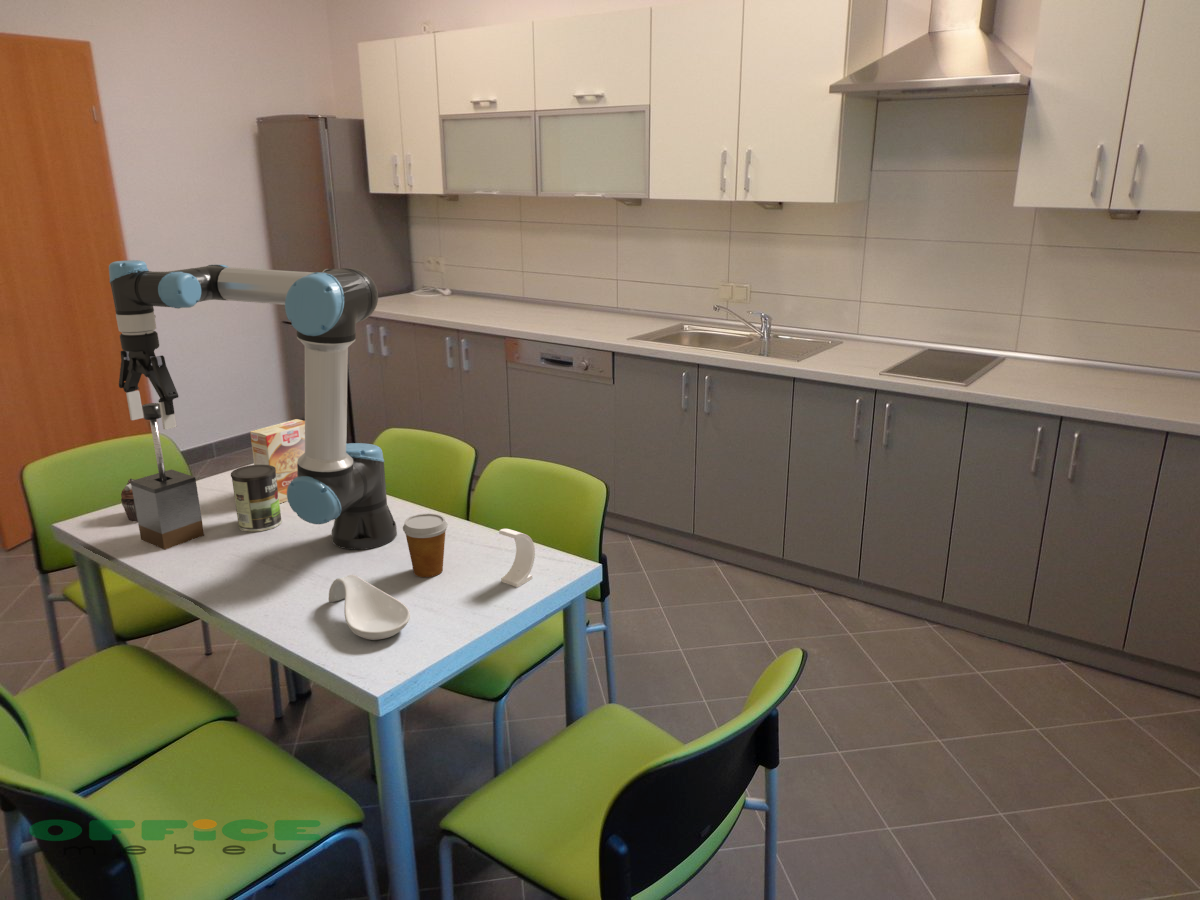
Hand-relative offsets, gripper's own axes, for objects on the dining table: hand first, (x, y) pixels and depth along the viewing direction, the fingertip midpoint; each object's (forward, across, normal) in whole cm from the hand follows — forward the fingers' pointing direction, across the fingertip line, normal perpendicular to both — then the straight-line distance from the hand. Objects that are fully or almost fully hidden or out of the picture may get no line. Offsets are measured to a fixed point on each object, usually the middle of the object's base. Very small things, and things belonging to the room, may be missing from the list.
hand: (153, 423), depth 197 cm
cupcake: (+29, +19, -4) cm, 35 cm away
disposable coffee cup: (+29, -64, -21) cm, 73 cm away
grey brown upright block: (+29, 0, 0) cm, 29 cm away
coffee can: (+29, -10, -17) cm, 35 cm away
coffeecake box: (+29, +1, -34) cm, 45 cm away
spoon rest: (+29, -69, +2) cm, 75 cm away
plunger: (+16, 0, 0) cm, 16 cm away
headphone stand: (+28, -83, -29) cm, 93 cm away
